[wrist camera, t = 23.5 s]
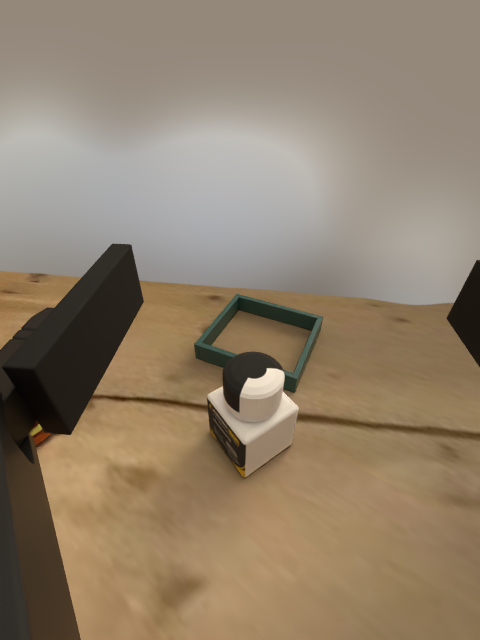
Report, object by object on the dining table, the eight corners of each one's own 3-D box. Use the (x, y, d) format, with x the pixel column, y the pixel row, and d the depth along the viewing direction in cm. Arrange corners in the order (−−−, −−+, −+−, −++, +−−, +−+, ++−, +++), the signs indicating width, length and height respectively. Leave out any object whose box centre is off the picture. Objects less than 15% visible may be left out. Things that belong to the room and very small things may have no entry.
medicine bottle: (209, 431, 39) (202, 362, 31) (255, 403, 42) (259, 334, 35) (243, 480, 34) (245, 412, 27) (292, 444, 38) (307, 375, 30)
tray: (320, 329, 54) (323, 316, 52) (294, 392, 44) (297, 378, 42) (236, 306, 59) (236, 293, 57) (195, 357, 49) (194, 344, 47)
